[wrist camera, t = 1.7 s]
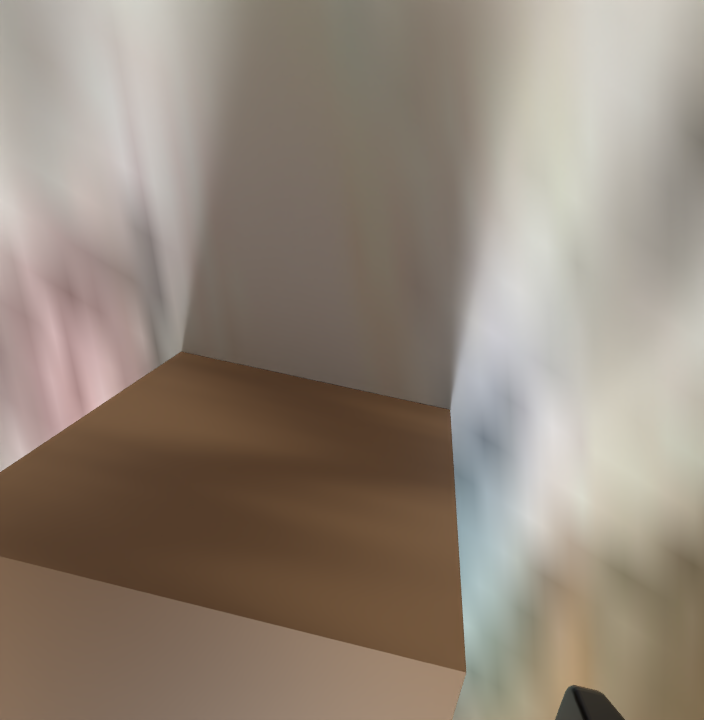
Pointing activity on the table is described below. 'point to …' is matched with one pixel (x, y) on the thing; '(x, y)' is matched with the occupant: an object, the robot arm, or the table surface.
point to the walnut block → (233, 556)
